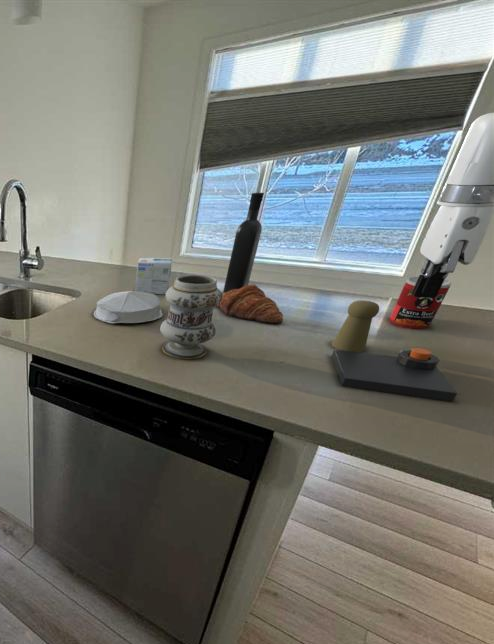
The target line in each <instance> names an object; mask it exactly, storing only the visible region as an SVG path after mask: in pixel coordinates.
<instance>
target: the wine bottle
mask: <svg viewBox="0 0 494 644" xmlns="http://www.w3.org/2000/svg"><path fill="white" fill-rule="evenodd" d="M264 195H265V192H253V193H251V196H250V199H249V206H248V210H247V216H246V219H245V220H244V221H243V222H241V223H240V225H239V226H238V228H237V230H236V233H235V237H234V240H233V246H232V250H231V254H230V260H229V263H228V268H227V273H226V278H225V282H224V287H223V290H222V292H224V293H226V292H228V291H230V290H233V289H240V288H242V287H244V286H248V285H249V284H250V283H249V282H250V279H251V275H252V271H253V266H254V263H255V259H256V255H257V250H258V247H259V243H260V238H261V236H262V235H261V234H262V229H263V226H262V223H261V222H260V220H258V217H259V214H260V209H261V205H262V202H263V198H264Z"/></svg>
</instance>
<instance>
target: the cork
mask: <svg viewBox="0 0 494 644" xmlns="http://www.w3.org/2000/svg"><path fill="white" fill-rule="evenodd" d="M379 312H380V306H379V304H378V303H377V302H375V301H371V300H362V299H360V300H354V301H352V302H351V303H349V305H348V307H347V314H348V315H347V317H346V319H345V320H344V322H343V323H342V325H341V327H340V328H339V330H338V332H337V334H336V336H335V337H334V339H333V341H332V342H331V346H332V347H333V348H335V350H344V351H352V352H361V353H363V352H364V351H365V350H366V346H367V343H368V337H369V334H370V329H371V326H372V321H373V318H376V316H377V315H378V314H379Z"/></svg>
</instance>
